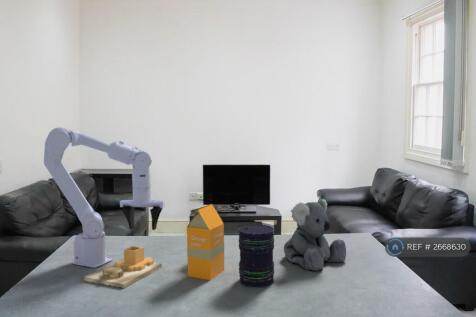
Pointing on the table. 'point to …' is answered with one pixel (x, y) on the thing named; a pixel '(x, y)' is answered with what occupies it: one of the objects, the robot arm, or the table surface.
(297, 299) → the table surface
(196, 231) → the orange juice
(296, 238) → the koala plush
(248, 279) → the storage jar
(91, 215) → the robot arm
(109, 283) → the carrier plate
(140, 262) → the gear
